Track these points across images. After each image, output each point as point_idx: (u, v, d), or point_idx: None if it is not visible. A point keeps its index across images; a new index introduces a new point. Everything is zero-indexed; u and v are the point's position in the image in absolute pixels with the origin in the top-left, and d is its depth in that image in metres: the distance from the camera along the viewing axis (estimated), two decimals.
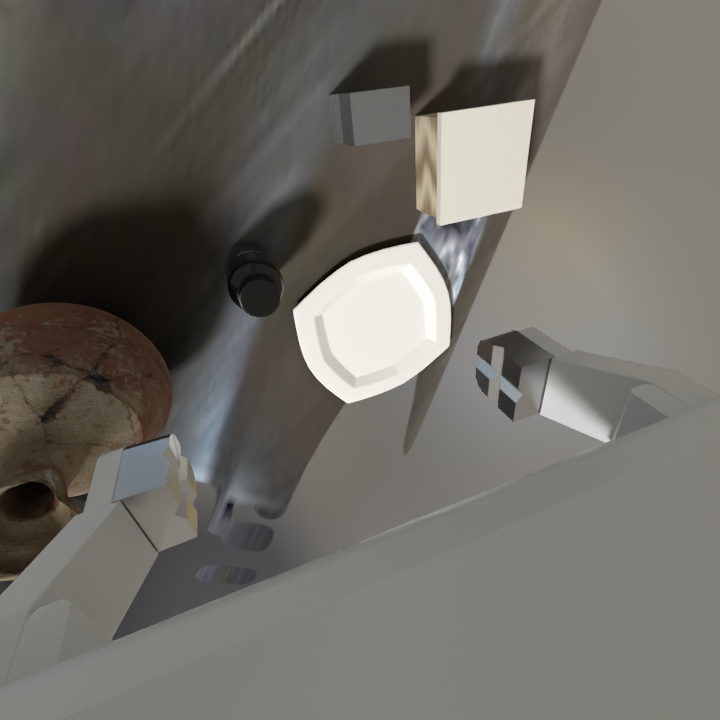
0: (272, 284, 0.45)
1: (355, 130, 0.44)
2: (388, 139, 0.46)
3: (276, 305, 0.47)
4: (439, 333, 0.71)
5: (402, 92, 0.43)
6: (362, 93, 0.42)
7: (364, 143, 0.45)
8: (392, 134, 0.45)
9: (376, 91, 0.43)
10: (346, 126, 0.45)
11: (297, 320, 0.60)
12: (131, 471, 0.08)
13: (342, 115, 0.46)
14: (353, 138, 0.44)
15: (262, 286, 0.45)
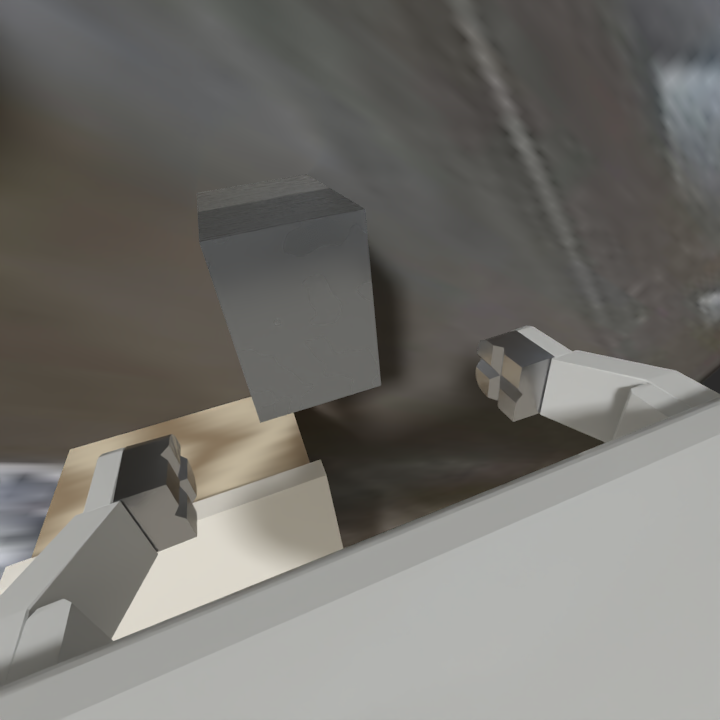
0: None
1: (256, 240, 0.12)
2: (244, 361, 0.14)
3: None
4: None
5: (366, 371, 0.16)
6: (364, 255, 0.13)
7: (217, 280, 0.12)
8: (260, 369, 0.14)
9: (369, 299, 0.14)
10: (255, 212, 0.13)
11: None
12: (131, 471, 0.08)
13: (281, 201, 0.14)
14: (227, 234, 0.11)
15: None
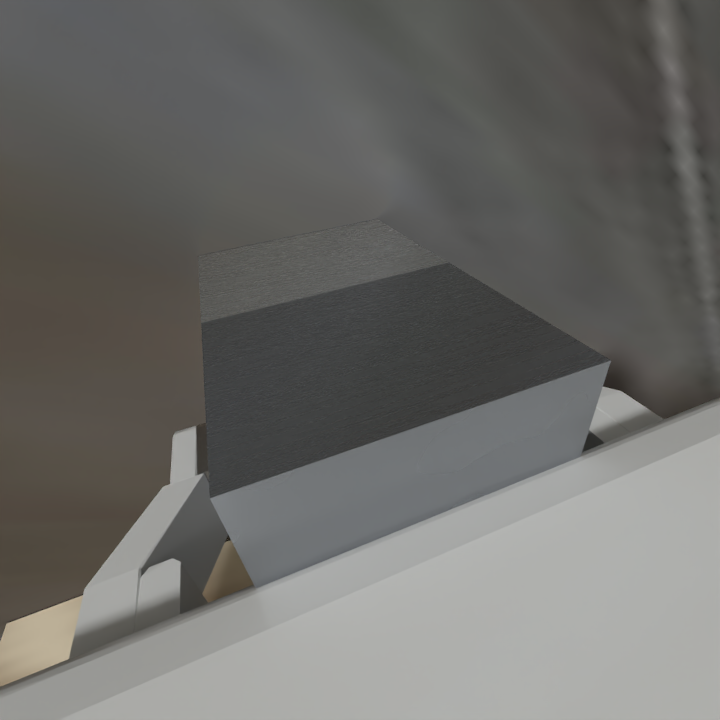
0: None
1: (360, 463, 0.04)
2: None
3: None
4: None
5: None
6: (576, 443, 0.06)
7: (253, 558, 0.05)
8: None
9: None
10: (328, 341, 0.06)
11: None
12: None
13: (368, 299, 0.07)
14: (283, 455, 0.04)
15: None
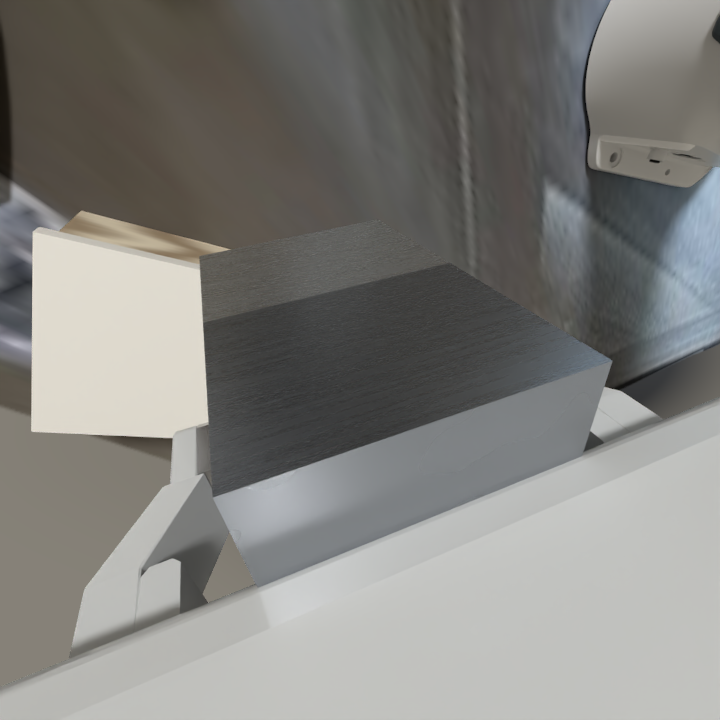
0: None
1: (362, 463, 0.04)
2: None
3: None
4: None
5: None
6: (577, 444, 0.06)
7: (255, 558, 0.05)
8: None
9: None
10: (329, 341, 0.06)
11: None
12: (209, 446, 0.08)
13: (370, 299, 0.07)
14: (286, 455, 0.04)
15: None
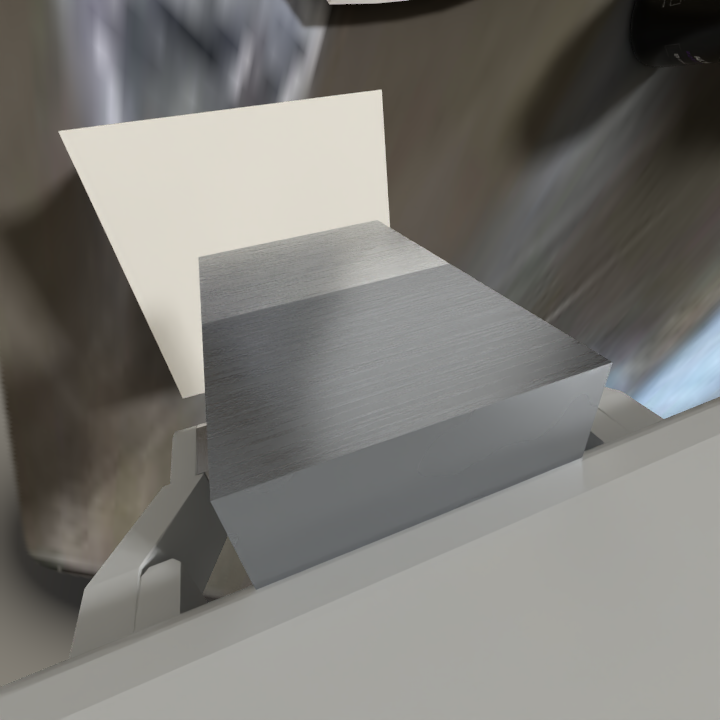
0: None
1: (361, 465, 0.04)
2: None
3: None
4: None
5: None
6: (577, 445, 0.06)
7: (254, 561, 0.05)
8: None
9: None
10: (328, 343, 0.06)
11: None
12: None
13: (369, 301, 0.07)
14: (284, 457, 0.04)
15: None
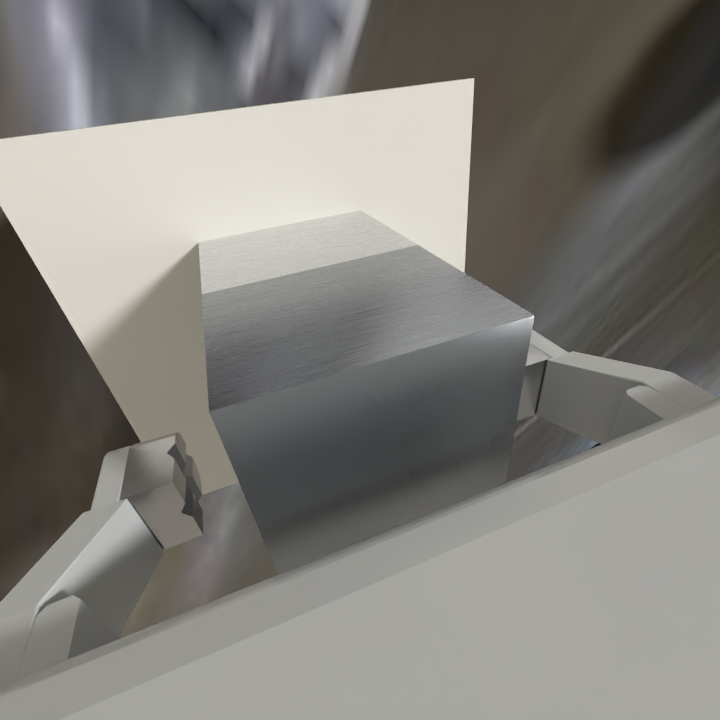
0: None
1: (328, 391, 0.06)
2: None
3: None
4: None
5: None
6: (514, 389, 0.07)
7: (244, 470, 0.06)
8: None
9: (505, 452, 0.08)
10: (308, 306, 0.07)
11: None
12: (138, 469, 0.08)
13: (345, 274, 0.08)
14: (267, 384, 0.05)
15: None
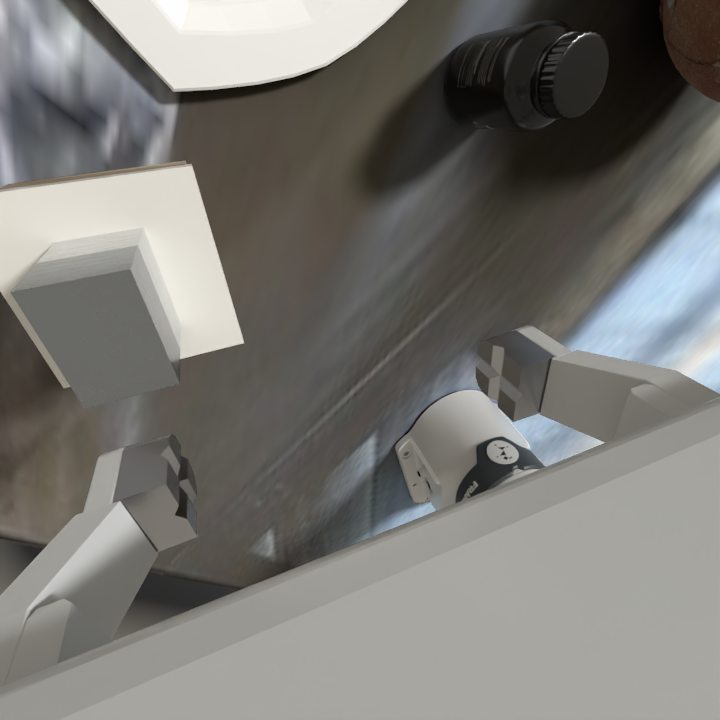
0: (556, 104, 0.27)
1: (52, 289, 0.18)
2: (61, 366, 0.20)
3: (566, 54, 0.25)
4: None
5: (164, 373, 0.22)
6: (138, 297, 0.20)
7: (28, 315, 0.18)
8: (75, 372, 0.20)
9: (151, 325, 0.21)
10: (68, 267, 0.20)
11: None
12: (131, 471, 0.08)
13: (94, 256, 0.21)
14: (31, 286, 0.18)
15: (570, 103, 0.27)
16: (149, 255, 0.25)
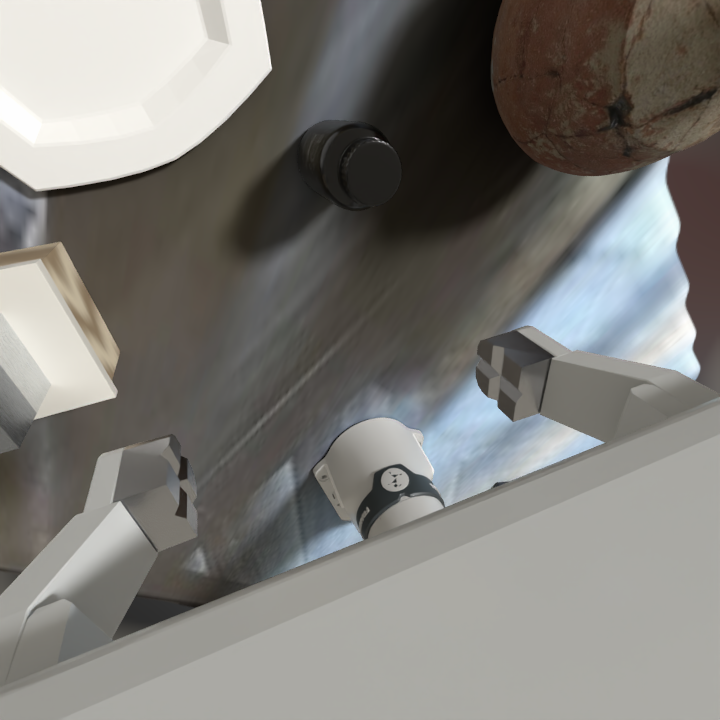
0: (355, 197, 0.31)
1: None
2: None
3: (353, 159, 0.29)
4: None
5: (2, 441, 0.27)
6: None
7: None
8: None
9: None
10: None
11: (263, 42, 0.32)
12: (131, 471, 0.08)
13: None
14: None
15: (369, 195, 0.31)
16: (3, 337, 0.29)
